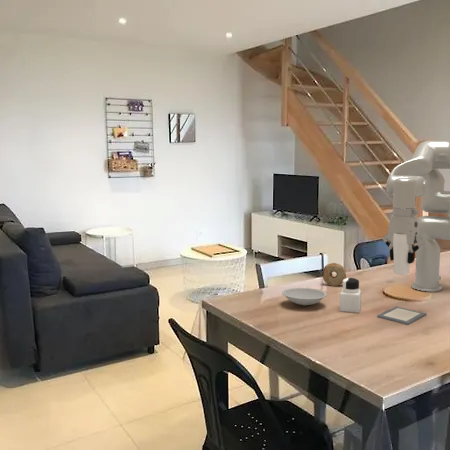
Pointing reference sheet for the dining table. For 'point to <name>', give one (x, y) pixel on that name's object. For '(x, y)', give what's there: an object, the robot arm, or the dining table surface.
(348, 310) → the medicine bottle
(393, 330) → the dining table surface
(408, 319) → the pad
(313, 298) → the dish
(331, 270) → the brown thick ring
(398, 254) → the drinking glass
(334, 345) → the dining table surface
